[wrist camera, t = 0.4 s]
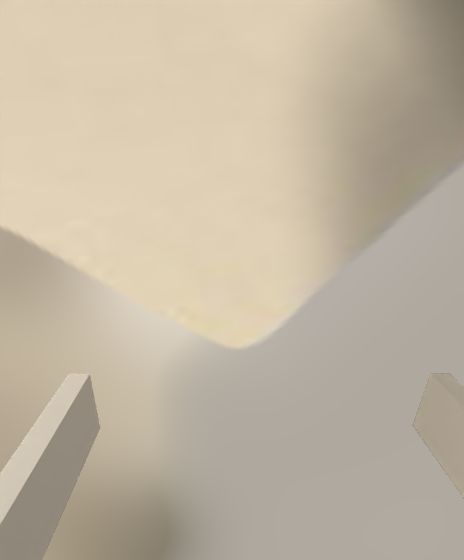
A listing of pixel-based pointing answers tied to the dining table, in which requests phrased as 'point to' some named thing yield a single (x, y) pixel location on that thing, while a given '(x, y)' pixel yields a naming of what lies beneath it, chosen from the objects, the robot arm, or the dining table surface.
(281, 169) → the dining table surface
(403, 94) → the dining table surface
